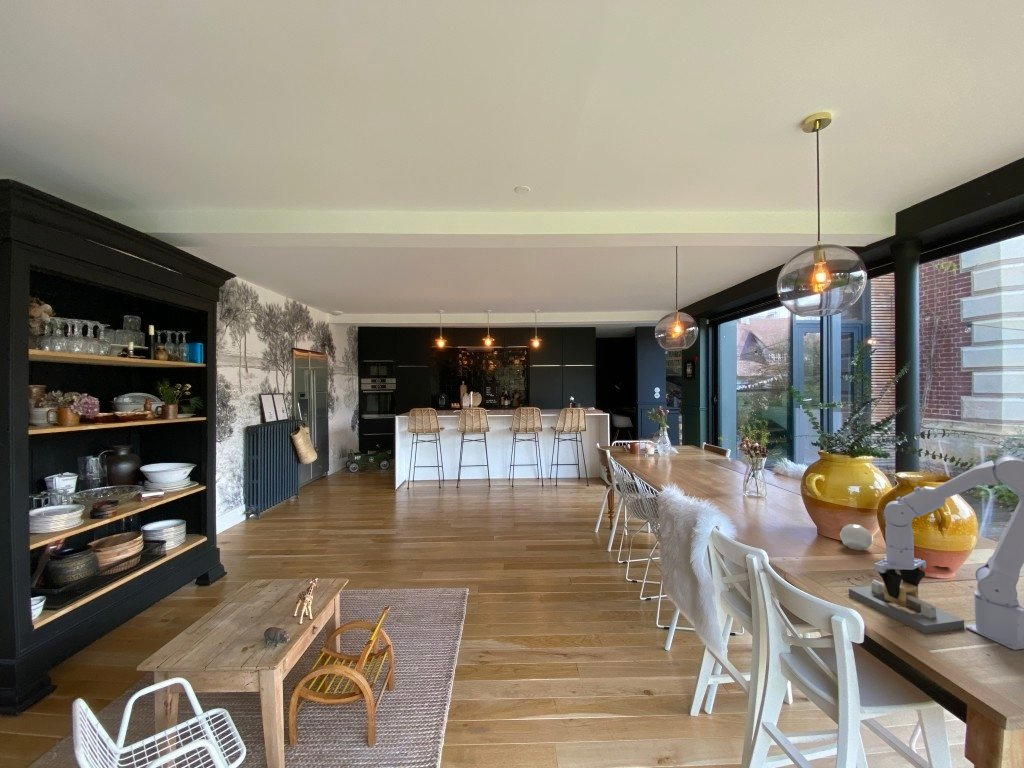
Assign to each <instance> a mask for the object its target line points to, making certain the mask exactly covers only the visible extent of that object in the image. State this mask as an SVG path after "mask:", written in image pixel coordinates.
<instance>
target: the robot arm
mask: <svg viewBox="0 0 1024 768" xmlns="http://www.w3.org/2000/svg"><path fill="white" fill-rule="evenodd" d="M998 481H1000V482H1001V483H1003V484H1004V485H1006V486H1007V487H1009V488H1010V489H1011V490H1013V492H1014V493H1015V494H1016V495H1017V497H1018V498H1019V500H1018V501H1019V502H1018V503H1017V505H1016V507H1015V510H1014V511H1013V513H1012V515H1011V517H1010V519H1009V522H1008V523H1007V525H1006V528H1005V530H1004V531H1003V533H1002V536H1001V537H1000V539H999V541H998V543H997V546H996V547H995V550H994V552H993V553H992V555H991V556H990V557H989V558H988V559H987V562H986V563H985V564H984V565H982V566H979V567H978V568H977V569H976V570H975V576H974V577H975V579H976V582H977V589H975V590H974V591H973V593H974V594H973V595H974V619H975V623H974V624H970V625H969V624H968V625H965V629H968V630H970V631H972V632H974V633H976V634H978V635H981V636H982V637H985V638H987V639H989V640H991V641H994V642H996V643H998V644H1000V645H1003V646H1005V647H1007V648H1009V649H1011V650H1014V651H1016V650H1023V649H1024V606H1022V605H1020V601H1019V599H1018V590H1017V584H1018V582H1019V579H1020V574H1021V569H1022V568H1023V565H1024V458H1022V457H1021V456H1018V455H1011V454H1007V455H1001V456H999V457H997V458H995V460H988V461H985V462H983V463H981V464H978V465H976V466H973V467H972V468H969V469H968V470H967V471H965V472H962V473H960V474H958V475H956V476H955V477H952V478H951V479H949V480H948V481H945V482H943V483H940V484H939V485H937V486H935V487H933V486H927V485H926V486H922V487H920V486H916V487H914V488H913V491H912V492H910V493H908V494H906V495H904V496H902V497H901V496H898V497H896V498H895V500H892V501H889V502H888V503H887V504H886V505H885V508H884V510H883V516H884V518H885V521H884V523H885V527H884V529H885V556H883V558H882V560H881V561H878V562H875V563H874V564H873V565H874V570H875V571H876V572H877V573H878V575H879V576H880V577H881V579H882V581H883V584H884V583H885V586H886V588H887V591H888V594H889V596H891V597H894V598H896V599H897V598H898V597H899V590H900V583H901V581H905V582H907V583H909V584H912V585H914V586H917V587H918V588H919V584H920V582H921V581H922V579H923V578H924V577H925V576H926V572H925V571H924V570H922V569H927V561H925V560H921V559H919V558H918V559H917V558H915V557H914V537H915V535H914V531H913V527H912V526H913V525H912V523H913V521H914V518H920V517H923V516H925V515H927V514H929V513H932V512H934V511H936V510H938V509H941V508H943V507H945V506H946V499H949V498H951V497H953V496H955V495H958V494H960V493H962V492H965V491H967V490H970V489H973V488H975V487H977V486H980V485H990V486H999V485H1000V484H999V483H998ZM920 568H922V569H920ZM897 571H899V572H900V574H899V573H898V572H897Z"/></svg>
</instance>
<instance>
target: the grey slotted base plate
mask: <svg viewBox="0 0 1024 768" xmlns="http://www.w3.org/2000/svg"><path fill="white" fill-rule="evenodd" d="M870 583H871V584H870V585H866V586H859V587H858V586H857V587H850V588H848V597H849V596H850V597H852V598H853V599H855V600H857V601H859V602H861V603H864V604H865V605H867V606H869V607H871V608H873V609H875V610H877V611H879V612H881V613H884V614H885V615H887V616H888V617H891V618H893V619H895V620H897V621H899V622H901V623H903V624H904V625H907V624H908V625H907V626H909V627H910V628H912V629H915V630H917V631H919V632H920V633H922V634H933V633H939V632H940V631H941V632H947V631H946V630H948V631H952V630H951V629H955V630H960V629H959V628H962V629H965V619H962V618H960V617H958V616H955V615H954V614H951V613H949V612H946V611H944V610H942V609H939V608H937V607H935V605H934V604H932V603H929V602H927V601H924V600H922V599H920V598H918V599H917V598H915V597H913V596H910V595H908V594H906V599H909V600H911V601H913V602H915V603H917V604H919V606H915V605H913V604H911V603H909V602H906V606H907V605H908V606H907V607H909V606H910V608H912V609H914V610H916V611H918V612H917V613H908V612H905V611H904V610H902V609H899V608H897V607H896V606H894V605H891V604H889V603H887V602H890V601H889V600H887V599H885V596H884V582H881V581H879V580H876V579H872V581H871V582H870Z"/></svg>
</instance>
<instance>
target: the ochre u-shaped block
mask: <svg viewBox="0 0 1024 768" xmlns="http://www.w3.org/2000/svg"><path fill="white" fill-rule="evenodd" d="M883 584H884V596H885V599H887V600H889V601H888V602H891V603H894V604H896V605H898V606H900V607H901V608H907V605H906V602H909V603H911V604H913V605H915V606H919V604H917V603H915V602H913V601H911V600H909V599H906V594H908V595H910V596H913V597H915V598H917V599H919V586H918V587H917V586H914V585H912V584H909V583H907V582H905V581H901V583H900V590H899V597H898V598H897V599H896V598H894V597H891V596H889V594H888V591H887V588H886V586H885V583H884V582H883Z"/></svg>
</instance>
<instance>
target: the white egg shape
mask: <svg viewBox="0 0 1024 768" xmlns="http://www.w3.org/2000/svg"><path fill="white" fill-rule="evenodd" d="M845 525H846V526H844V527H843V528H842V530H841V532H840V534H839V533H838V536H839V535H840V536H839V537H840V540H841V541H842V544H843V545H844V546H846V547H848V548H849V549H851V550H852V551H853V550H855V551H866V550H869V548H870V547H871V546H872V544H873V536H872V534H871V532H870V531H869V530H868V529H867V528H865V527H864V526H862V525H860V524H856V523H855V524H853V523H849V524H845Z"/></svg>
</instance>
